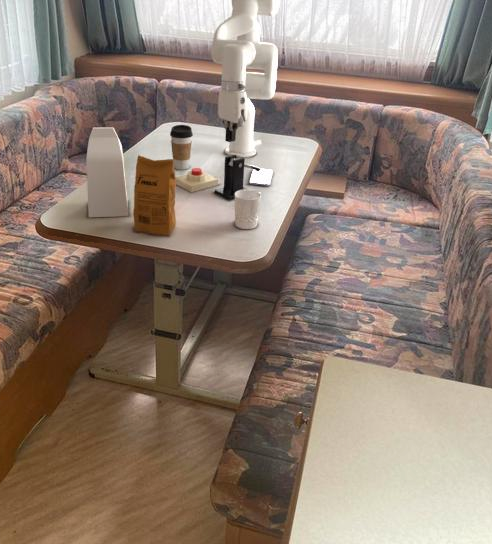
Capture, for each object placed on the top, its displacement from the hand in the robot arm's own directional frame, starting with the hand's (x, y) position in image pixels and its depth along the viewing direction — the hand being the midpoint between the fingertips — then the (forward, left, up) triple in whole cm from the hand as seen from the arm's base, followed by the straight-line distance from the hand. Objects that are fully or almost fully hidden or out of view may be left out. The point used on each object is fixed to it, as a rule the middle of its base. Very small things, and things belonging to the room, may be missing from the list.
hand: (230, 140), depth 195 cm
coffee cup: (+2, -25, -16) cm, 30 cm away
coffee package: (+40, +13, -17) cm, 45 cm away
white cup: (+16, +27, -16) cm, 36 cm away
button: (+8, -8, -13) cm, 17 cm away
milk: (+44, -7, -16) cm, 48 cm away
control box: (+8, -8, -16) cm, 20 cm away
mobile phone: (-15, +1, -16) cm, 22 cm away
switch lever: (-1, +6, -8) cm, 10 cm away
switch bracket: (+3, +6, -16) cm, 18 cm away
